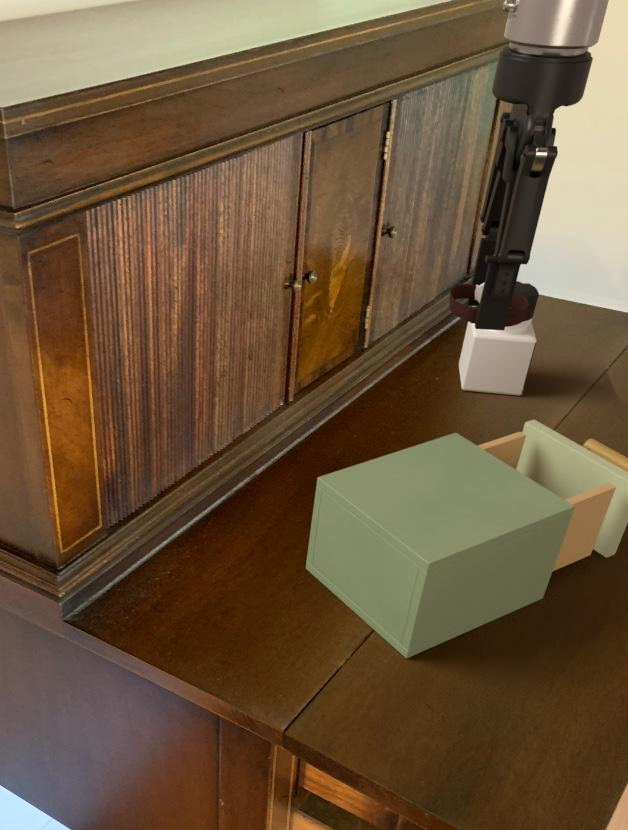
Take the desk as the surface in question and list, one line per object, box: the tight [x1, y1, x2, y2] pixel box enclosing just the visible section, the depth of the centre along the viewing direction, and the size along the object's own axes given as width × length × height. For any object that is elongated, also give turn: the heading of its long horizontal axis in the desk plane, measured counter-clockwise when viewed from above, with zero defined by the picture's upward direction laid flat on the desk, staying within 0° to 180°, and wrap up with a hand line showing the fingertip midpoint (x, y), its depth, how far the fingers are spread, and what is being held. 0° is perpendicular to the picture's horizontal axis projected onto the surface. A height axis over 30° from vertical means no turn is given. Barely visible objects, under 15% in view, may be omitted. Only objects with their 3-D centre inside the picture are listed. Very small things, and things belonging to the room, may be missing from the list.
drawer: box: [477, 419, 628, 572], centre depth 84 cm, size 21×12×8 cm, turn 120°
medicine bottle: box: [458, 279, 540, 397], centre depth 109 cm, size 7×7×12 cm
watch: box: [448, 283, 529, 327], centre depth 91 cm, size 8×5×4 cm, turn 59°
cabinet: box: [305, 432, 575, 659], centre depth 79 cm, size 16×14×10 cm
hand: (485, 315), depth 91 cm, fingers closed on watch, 5 cm apart
